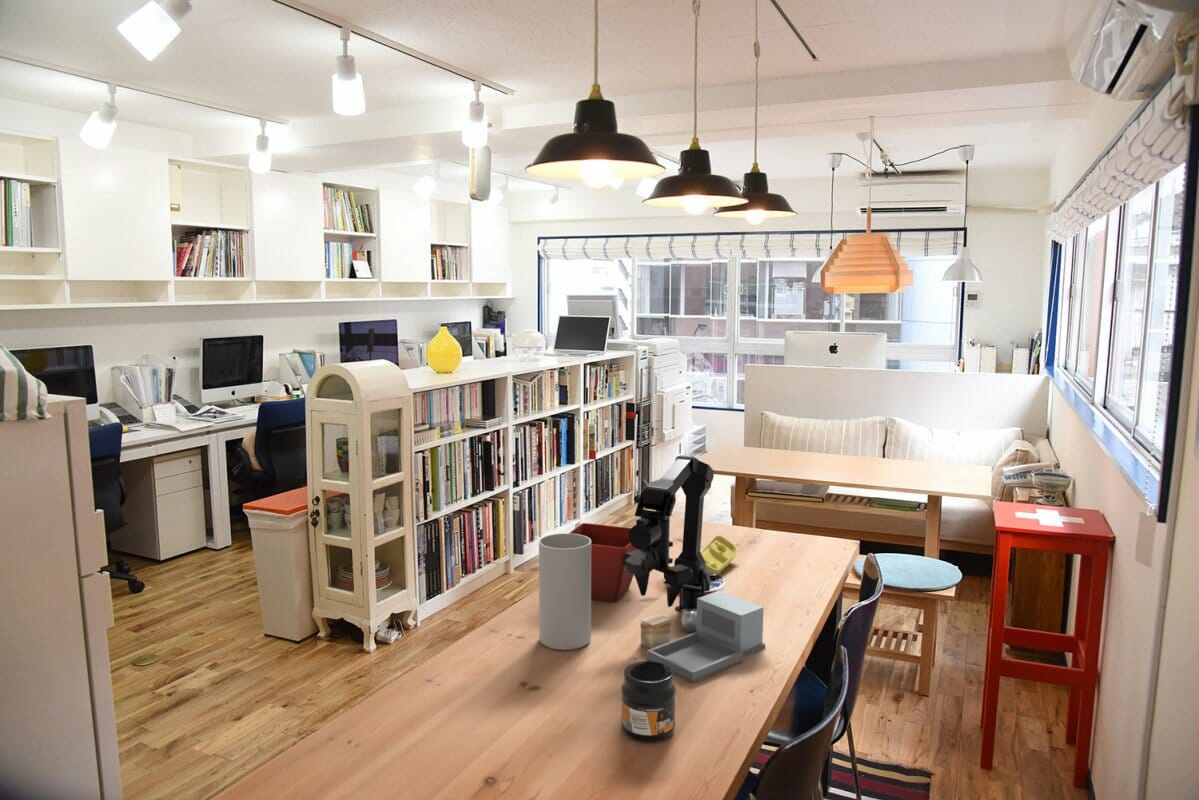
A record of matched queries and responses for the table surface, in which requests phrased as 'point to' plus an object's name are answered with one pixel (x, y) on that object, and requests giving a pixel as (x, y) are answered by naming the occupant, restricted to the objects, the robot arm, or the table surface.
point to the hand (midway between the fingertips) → (656, 600)
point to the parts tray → (695, 656)
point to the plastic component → (718, 554)
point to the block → (655, 631)
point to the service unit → (731, 621)
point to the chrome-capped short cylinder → (689, 620)
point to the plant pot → (607, 560)
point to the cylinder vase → (565, 591)
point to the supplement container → (648, 701)
